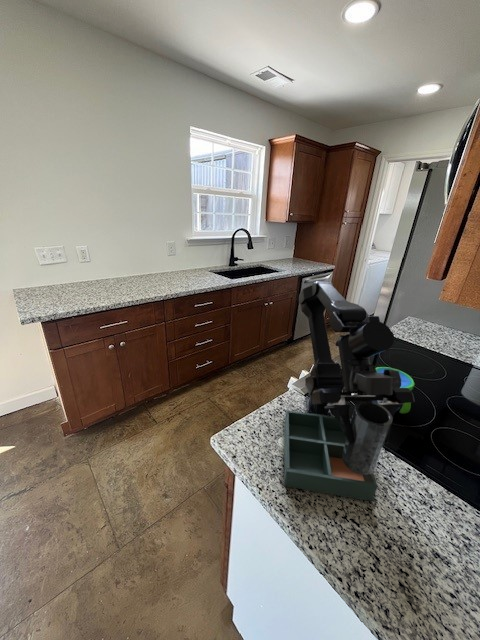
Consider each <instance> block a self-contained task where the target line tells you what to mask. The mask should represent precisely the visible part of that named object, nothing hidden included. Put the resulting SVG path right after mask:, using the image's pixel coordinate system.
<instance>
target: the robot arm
mask: <svg viewBox="0 0 480 640" xmlns="http://www.w3.org/2000/svg"><path fill="white" fill-rule="evenodd" d="M298 304H299V305H300V309H301V312H302V313H303V315H305V317H307V319H308V320H307V321H308V326H309V334H310V340H311V346H312V353H313V354H312V355H313V361H314V362H313V363H314V364H313V365H312V368H311V370H310V372H309V374H310V375H309V376H307V377H305V381H304V382H305V383H304V386H305V388H306V391H307V392H308V396H306V408H307V413H311V414H318V415H325V416H333V417H335V419H336V420H337V422H338V423H339V425H340V427H341V429H342V431H343V433H344V434H345V436H346V438H347V440H348V442H349V443H350V444H353V433H352V428H351V423H350V419H351V418H350V408H351V404H346V402H360V401H371V402H372V401H377V403H378V404H380V405H381V406H383V407H385V408H386V409H387V410H388V411H389V412H390V414H391V415H392V420H393V419H394V415H395V414H396V412H397V409H398V408H399V407H400V408H402V407H403V404H398V403H409V402H411V403H415V402H416V400H415V397H414V393H413V391H412V390H411V391H410V390H409V389H408V388H400V387H401V378H400V374H399V371H398V370H399V369H397V370H395V369H396V368H394V369H385V370H384V373H377V371H376V368H377V367H376V366H375V364H372V363H371V359H370V358H372V357H373V356H376V355H379V354H380V353H383V352H385V351H387V350H389V349H391V348H392V347H393V345H394V343H395V334H394V332H393V331H392V329H391V328H389V326H388V325H387V324H386V323H384V322H382V321H381V319H380V316H379V315H369V313H368V312H367V310H366V309H365V308H364V307H363V306H361V305H359V304H357V303H354V302H350V301H349V300H346V298H345V297H344V296H343V295H342V294H341V293H340V292H339V291H338V290H337V289H336V287H334V284H333V282H330V281H327V280H326V281H323V280H321V281H320V280H317V281H313V283H312V284H310V285H309V286H307V287H304V288H302V290H301V291H300V293H299V295H298ZM325 311H327V312H328V314H329V315H328V319H327V320H328V321H327V322H328V324H329V327H330V328H331V330H332V331H333V332H334V333H346V334H341V335H339V337H338V339H337V340H336V341H335V347H338V353H339V360H340V363H339V362H335V361H334V360H333V358H332V351H331V347H330V340H329V336H328V331H327V325H326V318H325ZM347 333H348V334H347ZM400 408H399V409H400ZM391 429H392V426H391V427H390V430H389V432H388V435H387V438H386V441H385V443H384V444H389V441H390V436H391Z"/></svg>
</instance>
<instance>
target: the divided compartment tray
mask: <svg viewBox="0 0 480 640" xmlns="http://www.w3.org/2000/svg"><path fill="white" fill-rule="evenodd" d="M350 422H351V418H350ZM283 433H284V445H283V446H284V448H283V450H284V451H283V458H284V459H283V486H284V487H287V488H294V489H299V490H304V491H305V490H306V491H310V492H311V491H312V492H317V493H323V494H327V495H334V496H340V497H345V498H350V499H357V500H361V501H363V500H364V501H368V502H373V500H374V497H375V495H376V492H377V489H378V483H377V480H376V476H375V473H374V472H373V473H371V474H369V475H360V474H357V473H355V472H353V471H352V470H350V469H349V468H348V467H347V466H346V465H345V463H344V462H343V459H342V452H343V447H344V444H345V440H346V436H345V434H344V433H343V431H342V429H341V427H340V425H339V423H338V422H337V420H336V419H335V417H334V416H333V415H331V416H326V415H318V414H311V413H308V412H302V411H296V410H289V409H288V410H287V409H286V410H285V417H284V432H283Z"/></svg>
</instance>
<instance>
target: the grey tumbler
mask: <svg viewBox="0 0 480 640" xmlns="http://www.w3.org/2000/svg"><path fill="white" fill-rule="evenodd" d="M350 419H351V422H350V423H351V428H352V433H353V444H350V443H349V442H348V440H347V438H346V440H345V444H344V447H343V452H342V459H343V462H344V463H345V465H346V466H347V467H348V468H349V469H350V470H352V471H353V472H355V473H357V474H360V475H369V474H371V473H374V472H375V470H376V468H377V465H378V462H379V460H380V457H381V454H382V452H383V448H384V447H385V444H386V443H385V441H386V438H387V435H388V432H389V430H390V427H391V428H392V424H393V422H394V421H393V419H392V415H391V414H390V412H389V411H388V410H387V409H386V408H385V407H383V406H381V405H380V404H378V403H375V402H372V401H357V403H356V404H355V405H354V407H353V412H352V415H351V418H350ZM390 431H391V430H390Z"/></svg>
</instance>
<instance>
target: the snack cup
mask: <svg viewBox="0 0 480 640" xmlns="http://www.w3.org/2000/svg"><path fill="white" fill-rule="evenodd" d="M385 369H395V370H398V371H399V374H400V378H401V387H400V388H408V389H409V390H410V391H411V392H412V390H414V387H415V385H416V383H415V382H414V379H413V378H412V377H411V376H410V375H409V374H408V373H406V372H404V371H402V370H400V369H397V368H393V367H389V366H388V367H387V366H378V367H376V371H377V373H384V370H385ZM371 402H375V403H377V401H371ZM398 404H403V407H399V408H398V409H397V411H399V413H400V414H407V413H409V412H410V411H411V407H412V406H411V405H412V402H409V403H398ZM397 411H396V412H397Z"/></svg>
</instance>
